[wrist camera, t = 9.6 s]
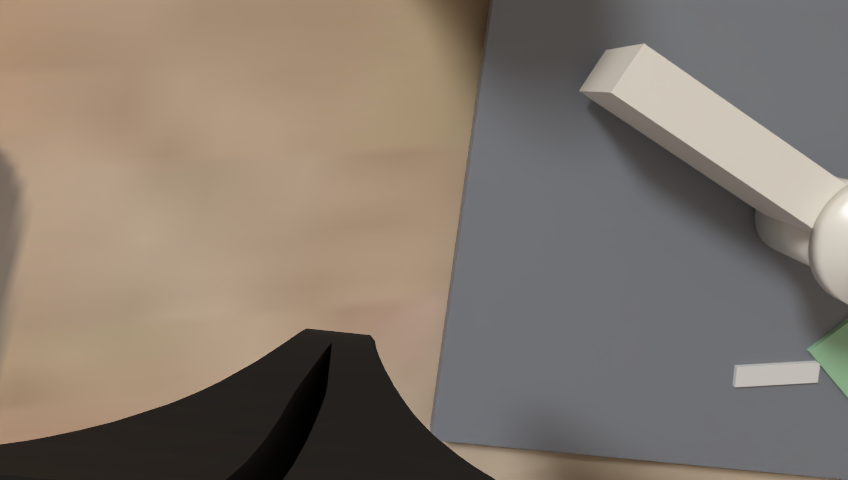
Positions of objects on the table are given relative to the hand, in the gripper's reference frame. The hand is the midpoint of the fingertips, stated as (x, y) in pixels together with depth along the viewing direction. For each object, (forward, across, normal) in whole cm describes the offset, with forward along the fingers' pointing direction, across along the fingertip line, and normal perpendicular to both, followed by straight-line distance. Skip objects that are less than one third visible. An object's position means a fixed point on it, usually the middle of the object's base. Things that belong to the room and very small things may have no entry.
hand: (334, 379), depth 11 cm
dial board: (+10, -14, -2) cm, 17 cm away
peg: (+9, -13, -3) cm, 16 cm away
